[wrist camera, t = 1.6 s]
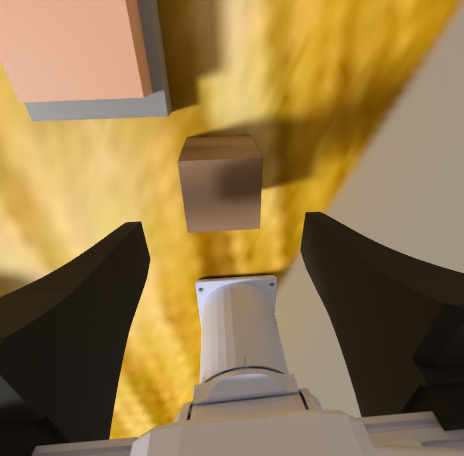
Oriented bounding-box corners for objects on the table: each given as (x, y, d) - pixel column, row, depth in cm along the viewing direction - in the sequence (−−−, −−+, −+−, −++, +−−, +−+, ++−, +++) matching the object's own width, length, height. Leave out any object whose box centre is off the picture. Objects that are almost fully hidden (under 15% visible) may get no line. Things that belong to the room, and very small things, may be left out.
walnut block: (249, 192, 21) (260, 228, 16) (193, 195, 21) (187, 232, 16) (249, 134, 18) (262, 157, 14) (186, 137, 18) (177, 161, 14)
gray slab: (173, 110, 18) (167, 116, 16) (54, 114, 17) (32, 121, 15) (150, -56, 13) (139, -80, 11) (-7, -55, 13) (-50, -78, 11)
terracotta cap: (153, 93, 15) (143, 97, 13) (46, 97, 15) (18, 102, 12) (127, -55, 12) (109, -82, 10) (-9, -53, 11) (-59, -81, 9)
